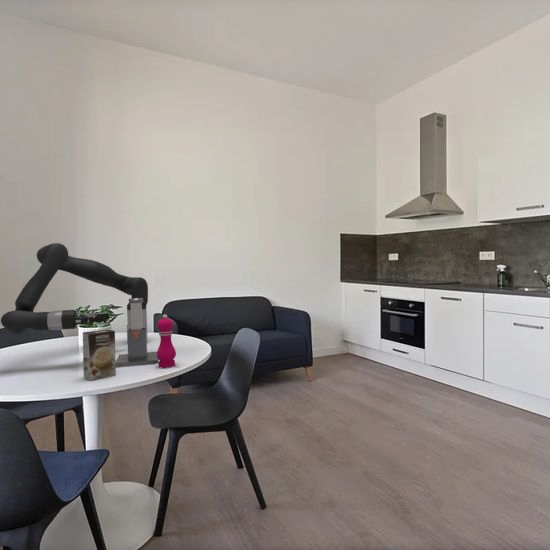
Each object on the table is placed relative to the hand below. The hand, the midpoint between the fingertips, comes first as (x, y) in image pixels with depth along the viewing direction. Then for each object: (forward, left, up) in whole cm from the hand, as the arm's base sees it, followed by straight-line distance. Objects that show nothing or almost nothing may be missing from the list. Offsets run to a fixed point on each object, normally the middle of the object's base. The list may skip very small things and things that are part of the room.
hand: (107, 317), depth 158 cm
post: (+7, +9, -17) cm, 20 cm away
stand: (+7, +9, -18) cm, 22 cm away
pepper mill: (+24, +10, -19) cm, 32 cm away
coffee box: (+15, -12, -19) cm, 27 cm away
